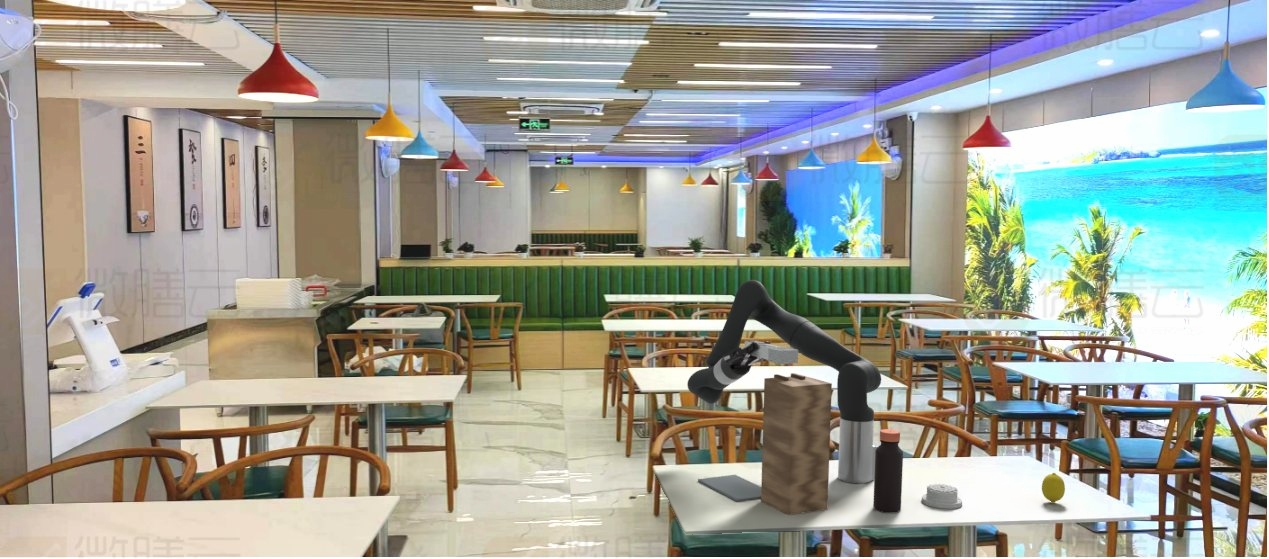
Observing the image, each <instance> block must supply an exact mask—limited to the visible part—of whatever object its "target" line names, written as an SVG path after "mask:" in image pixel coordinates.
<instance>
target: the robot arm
mask: <svg viewBox="0 0 1269 559" xmlns="http://www.w3.org/2000/svg"><path fill="white" fill-rule="evenodd" d="M749 318H751V319H752V320H753V321H756V322H758V323H760V325H763V326H765V327H766V328H768V329H769V330H771V331H772V332H774V334H776V335H777V336H778V337H779V338H780V339H781V340H782V341H784V342H785V343H786V344H788V346H790V348H793V349H797V350H798V354H800V355H802V356H803V357H806V358H808V359H810V360H812V361H815V362H817V363H820V364H822V365H826V366H828V367H830V368H832V369H833V370H836V371H837V372H838V374H837V380H836V381H837V382H836V383H837V384H836V385H837V389H836V390H837V397H836V398H837V407H838V410H839V438H838V439H839V442H838V443H839V444H838V465H837V466H838V467H837V469H838V471H837V478H838V479H839V480H840V481H843V482H846V483H853V484H865V483H866V484H867V483H870V482H872V481H874V476H875V451H876V449H877V448H876V446H875V445H874V427H875V426H874V425H875V424H874V422H875V421H874V420H875V417H874V416H875V411H874V409H873V408H872V407H870V406H869V405H868V394H870V393H872V392H874V391H876V390H877V389H878V388H879V387H880V385H881V383H882V376H881V372H880V370H879V368H878V367H877V366H876V365H875V363H874V362H872V361H871V360H868V359H867V358H865V357H863V356H862V355H860V354H857V353H856V352H855V351H852V350H851V349H849V348H847V347H846V346H844V345H843V344H841V343H840V342H839V341H838V340H836V339H835V338H834V337H832V336H831V335H829V334H828V333H826V332H825V331H824V330H822V329H821V328H820V327H818V326H817V325H816V324H814V322H811V320H808V319H807V318H805V317H803V316H800V315H797V314H795V313H791V312H788V311H787V310H785V309H784V308H782V307H781V306H780V305H779V304H778V303H776V302H775V300H773V298H772V297H771V296H770V295H769V292H768V291H767V289H766V287H765V286H764V285H763V284H762V283H761V281H758V280H756V279H750V280H749V279H748V280H746V281H745V282H743V283H741V284H740V286H739V287H738V289H737V291H736V294H735V297H734V299H733V302H732V306H731V307H730V310H729V313H728V316H727V318H726V321H725V323H724V325H723V328H722V330H721V332H720V334H719V337H718V338H717V340H716V342H715V344H714V345H713V348H712V350H711V351H710V353H709V355H708V357H707V359H706V360H705V361H706V362H705V364H706V366H707V367H706V368H703V369H699V370H696V371H694V372H693V373H692V374H691V375H690V377H689V378H688V380H687V384H686V385H687V389H688V391H689V392H690V393H691V394H693V395H695V396H697V397H698V398H699V399H701V400H703V402H705V403H707V404H710V405H712V404H715V403H717V402H718V401H720V399H721V398H722V395H723V393H724V389H726V388H727V387H728V386H730V385H731V384H733V383H735V382H737V381H738V380H740V379H741V378H743V377H744V376H745V375H747V374H748V373H749V372H750V370H751V367H752V365H753V364H754V363H756V362H757V361H760V360H761V361H763V362H767V361H768V360H767V359H763V358H759V357H756V356H752V355H750V354H752V353H753V352H755V351H756V350H757V349H758V346H757V342H753V343H751V344H750V345H749V346H745V345H744V346H743V347H740V346H741V342H742V338H743V334H744V330H745V327H746V324H747V322H748V321H749ZM764 343H768V344H771V343H770V341H769V340H765V341H764Z"/></svg>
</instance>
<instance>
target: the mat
mask: <svg viewBox="0 0 1269 559" xmlns="http://www.w3.org/2000/svg"><path fill="white" fill-rule="evenodd" d="M697 481H698V482H699V483H701V484H703V485H704V486H706V487H708V488H710V489H712V490H713V491H716V492H717V491H718V493H719V492H720V494H721V493H722V495H723V496H725V497H727V498H729V499H731V500H733V501H735V502H736V503H737V502H738V503H740V502H745V501H746V500H747V501H752V500H753V499H754V500H760V499H759V498H761V486H760V485H757V483H754V482H751V481H749V480H748V479H745V478H743V477H741V476H739V475H737V474H729V475H721V476H713V477H706V478H705V477H704V478H698V479H697Z"/></svg>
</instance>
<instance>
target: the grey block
mask: <svg viewBox="0 0 1269 559" xmlns="http://www.w3.org/2000/svg"><path fill="white" fill-rule="evenodd" d="M753 342H757V346H758V349H757V350H756V351H755V352H753V353H752V354H750V355H752V356H756V357H759V358H763V359H767V360H766V361H768V362H770V363H773V364H777V365H789V364H791V365H792V364H798V363H799V352H798V350H797V349H794V348H793V347H788V346H785V347H784V346H779V345H776V344H772V343H770V344H768V343H764V342H765V341H764V342H763V341H760V340H756V339H755V340H744V347H745V346H749V345H750V344H751V343H753Z"/></svg>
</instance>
